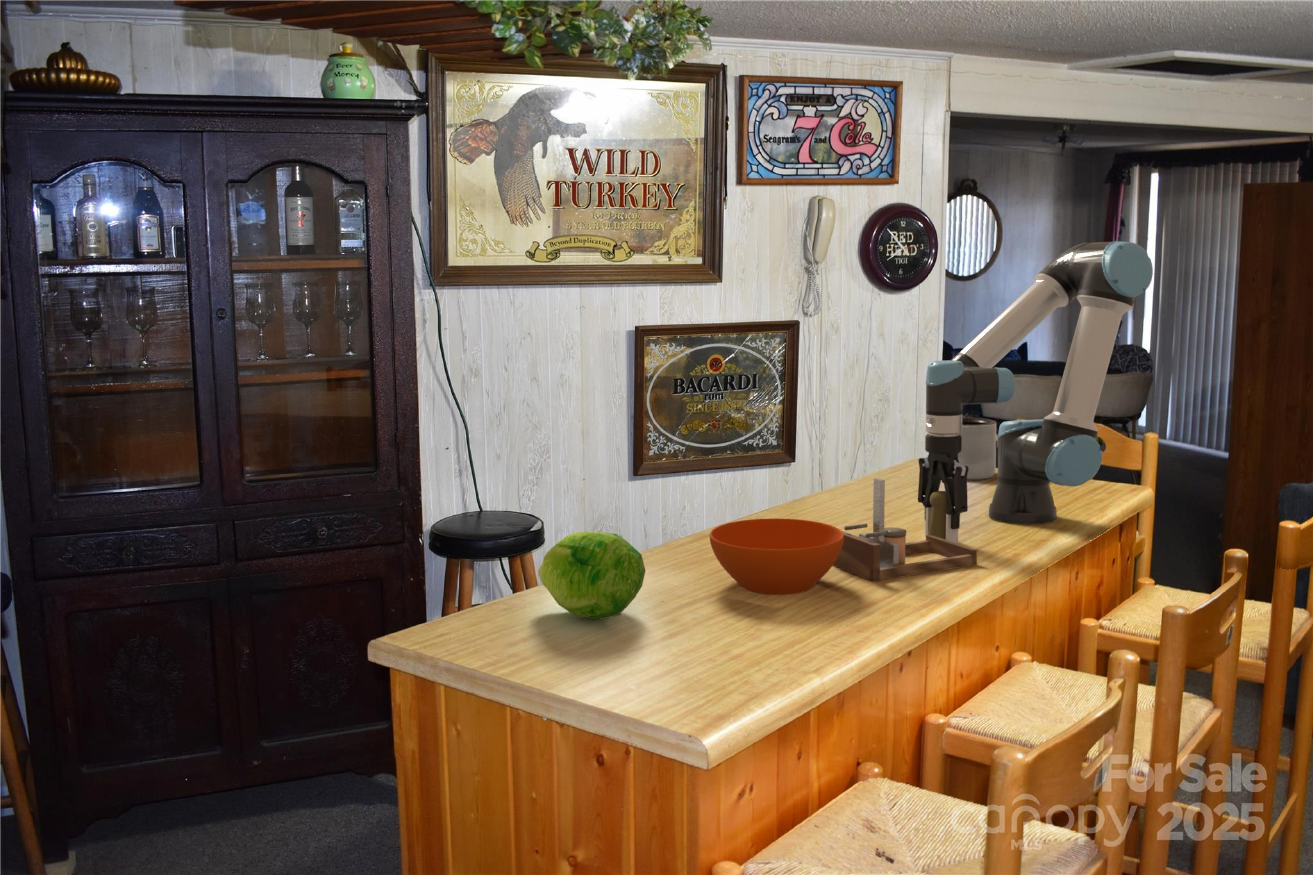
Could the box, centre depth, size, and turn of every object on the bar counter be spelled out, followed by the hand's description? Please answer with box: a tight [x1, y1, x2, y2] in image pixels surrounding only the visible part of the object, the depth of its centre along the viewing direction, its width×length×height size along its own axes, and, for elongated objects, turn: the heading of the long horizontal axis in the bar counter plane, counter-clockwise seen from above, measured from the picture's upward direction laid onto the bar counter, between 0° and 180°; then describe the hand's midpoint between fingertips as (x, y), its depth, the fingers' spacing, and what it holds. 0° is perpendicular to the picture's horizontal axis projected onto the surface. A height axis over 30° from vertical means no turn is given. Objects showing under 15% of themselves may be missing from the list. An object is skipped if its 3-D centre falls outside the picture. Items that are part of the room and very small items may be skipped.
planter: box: [951, 416, 997, 482], centre depth 319 cm, size 16×16×16 cm
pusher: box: [858, 477, 899, 568], centre depth 225 cm, size 1×11×18 cm, turn 25°
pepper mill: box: [928, 490, 949, 540], centre depth 246 cm, size 6×6×11 cm
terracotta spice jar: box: [884, 526, 907, 565], centre depth 228 cm, size 5×5×7 cm
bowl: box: [709, 518, 844, 596], centre depth 216 cm, size 25×25×10 cm
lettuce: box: [537, 531, 646, 620], centre depth 199 cm, size 17×20×15 cm
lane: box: [833, 523, 978, 582], centre depth 229 cm, size 25×14×8 cm, turn 115°
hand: (941, 539), depth 247 cm, fingers closed on pepper mill, 6 cm apart
